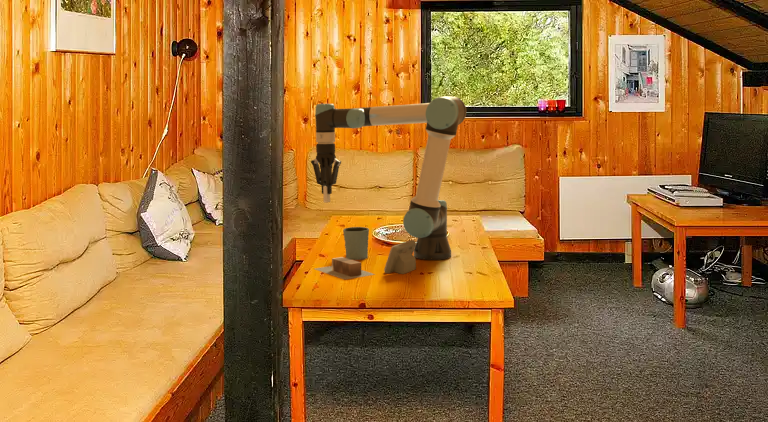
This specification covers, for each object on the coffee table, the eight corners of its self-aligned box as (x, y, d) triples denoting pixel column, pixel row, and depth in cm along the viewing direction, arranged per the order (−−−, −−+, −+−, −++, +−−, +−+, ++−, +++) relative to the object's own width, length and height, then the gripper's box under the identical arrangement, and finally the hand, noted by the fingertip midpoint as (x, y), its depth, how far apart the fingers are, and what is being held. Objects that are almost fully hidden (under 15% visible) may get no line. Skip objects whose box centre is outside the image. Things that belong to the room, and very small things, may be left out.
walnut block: (331, 258, 301) (350, 264, 290) (342, 256, 303) (361, 262, 293) (332, 270, 301) (350, 276, 291) (342, 268, 304) (361, 274, 293)
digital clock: (406, 265, 310) (405, 238, 309) (424, 268, 304) (424, 240, 303) (377, 273, 298) (376, 244, 297) (395, 276, 292) (395, 247, 291)
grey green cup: (373, 257, 326) (373, 227, 325) (362, 262, 317) (361, 231, 315) (351, 255, 331) (350, 226, 329) (339, 260, 321) (338, 230, 320)
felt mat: (313, 269, 304) (313, 268, 304) (343, 265, 312) (343, 264, 312) (344, 280, 287) (344, 279, 286) (375, 275, 294) (375, 274, 294)
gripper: (306, 143, 320) (308, 202, 324) (334, 143, 315) (336, 204, 318) (316, 142, 327) (318, 200, 331) (344, 142, 321) (345, 201, 325)
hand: (326, 202), depth 324 cm, fingers closed
